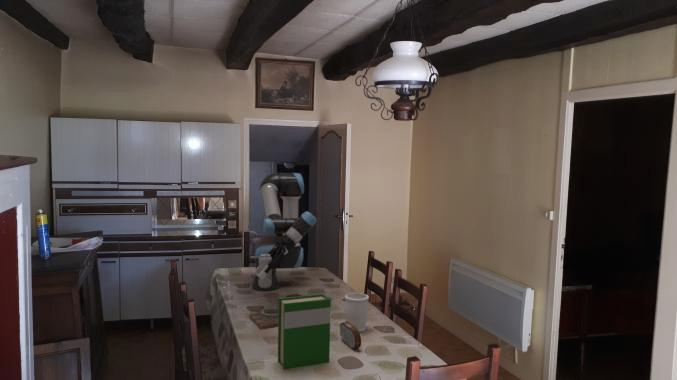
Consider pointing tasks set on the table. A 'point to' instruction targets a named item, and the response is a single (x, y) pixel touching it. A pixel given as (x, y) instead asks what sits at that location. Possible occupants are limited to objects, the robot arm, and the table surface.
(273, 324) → the mount
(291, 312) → the hardback book
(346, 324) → the tin
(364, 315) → the jar
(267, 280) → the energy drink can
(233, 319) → the table surface
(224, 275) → the table surface
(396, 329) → the table surface
